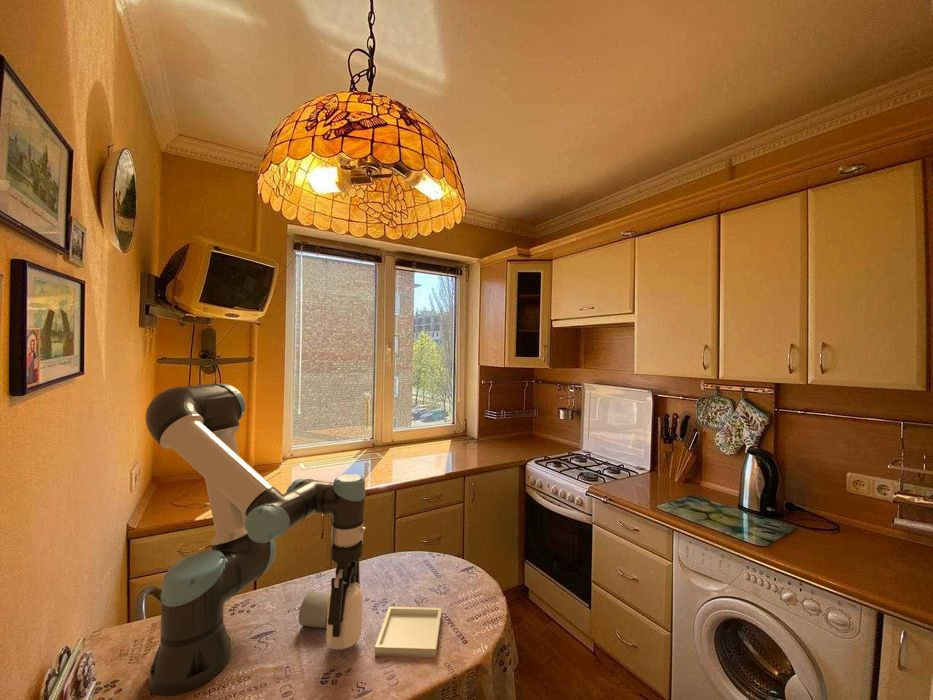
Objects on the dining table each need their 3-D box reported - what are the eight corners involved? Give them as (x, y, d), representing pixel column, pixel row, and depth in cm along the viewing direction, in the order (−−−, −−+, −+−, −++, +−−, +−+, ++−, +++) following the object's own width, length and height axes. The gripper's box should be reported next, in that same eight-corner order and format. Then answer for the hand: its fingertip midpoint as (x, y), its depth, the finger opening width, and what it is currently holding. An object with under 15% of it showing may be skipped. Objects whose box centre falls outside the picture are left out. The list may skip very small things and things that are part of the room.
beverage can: (324, 632, 94) (326, 584, 94) (357, 623, 98) (359, 576, 98) (328, 656, 87) (330, 604, 87) (363, 645, 90) (365, 594, 91)
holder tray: (374, 655, 90) (374, 647, 90) (388, 613, 104) (389, 606, 104) (435, 657, 89) (435, 648, 89) (441, 615, 104) (441, 608, 104)
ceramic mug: (327, 635, 96) (328, 604, 96) (297, 632, 97) (298, 601, 97) (345, 608, 106) (346, 581, 107) (318, 606, 107) (319, 578, 108)
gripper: (348, 564, 82) (344, 669, 82) (374, 522, 103) (370, 606, 103) (314, 562, 82) (309, 668, 82) (347, 520, 103) (343, 604, 103)
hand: (343, 633), depth 92 cm, fingers closed on beverage can, 8 cm apart
